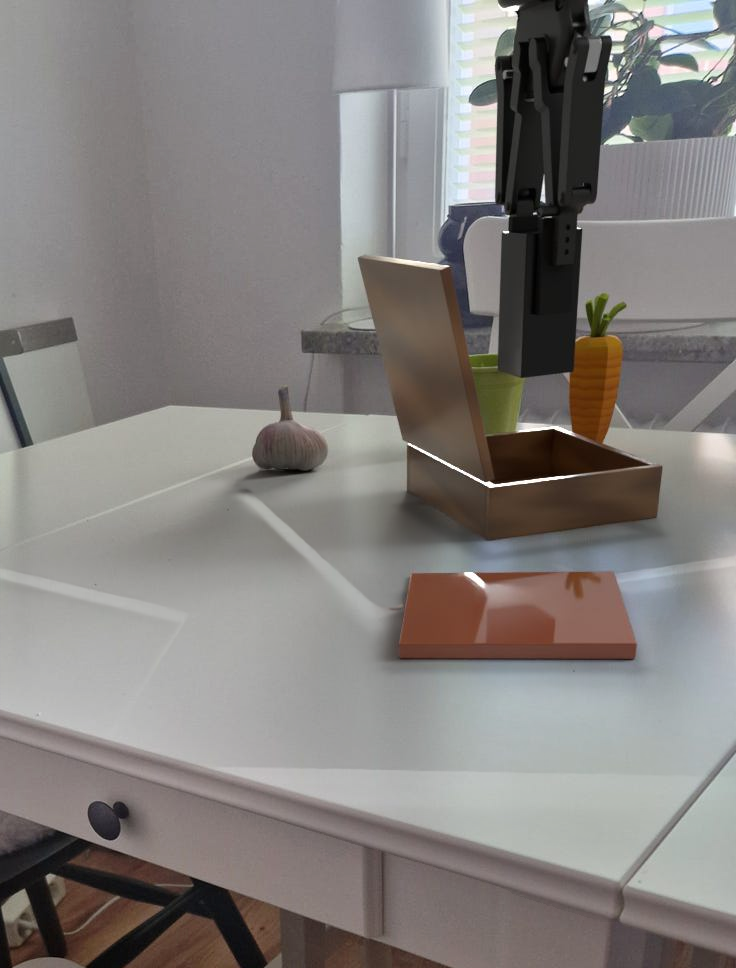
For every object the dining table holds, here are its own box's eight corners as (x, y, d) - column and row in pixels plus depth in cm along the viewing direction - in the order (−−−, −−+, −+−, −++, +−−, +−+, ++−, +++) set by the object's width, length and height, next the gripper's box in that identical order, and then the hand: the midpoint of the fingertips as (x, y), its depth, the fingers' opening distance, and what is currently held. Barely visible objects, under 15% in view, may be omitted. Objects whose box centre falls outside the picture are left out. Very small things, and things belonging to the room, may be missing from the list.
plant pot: (417, 455, 119) (418, 365, 115) (466, 438, 125) (469, 351, 121) (497, 464, 114) (502, 369, 109) (545, 445, 120) (550, 354, 115)
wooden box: (553, 479, 107) (556, 426, 105) (656, 526, 92) (663, 465, 90) (406, 497, 105) (406, 443, 102) (487, 549, 90) (490, 487, 87)
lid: (366, 253, 94) (357, 257, 94) (450, 265, 79) (440, 270, 79) (410, 436, 102) (402, 440, 102) (495, 479, 87) (485, 483, 87)
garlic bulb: (239, 470, 119) (234, 387, 115) (296, 457, 122) (292, 376, 118) (284, 481, 113) (280, 394, 109) (342, 467, 117) (340, 383, 113)
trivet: (613, 585, 81) (614, 570, 80) (635, 659, 69) (637, 643, 68) (410, 586, 83) (410, 572, 83) (398, 658, 71) (398, 643, 71)
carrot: (572, 456, 115) (585, 288, 107) (621, 460, 112) (638, 288, 105) (552, 467, 111) (564, 294, 104) (602, 471, 109) (618, 294, 101)
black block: (548, 364, 95) (555, 227, 90) (573, 371, 91) (582, 228, 86) (496, 371, 94) (501, 232, 89) (521, 378, 91) (526, 233, 86)
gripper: (453, -41, 86) (449, 306, 97) (564, -91, 71) (544, 326, 83) (547, -46, 87) (532, 297, 99) (676, -96, 72) (640, 315, 84)
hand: (537, 309), depth 91 cm, fingers closed on black block, 4 cm apart
